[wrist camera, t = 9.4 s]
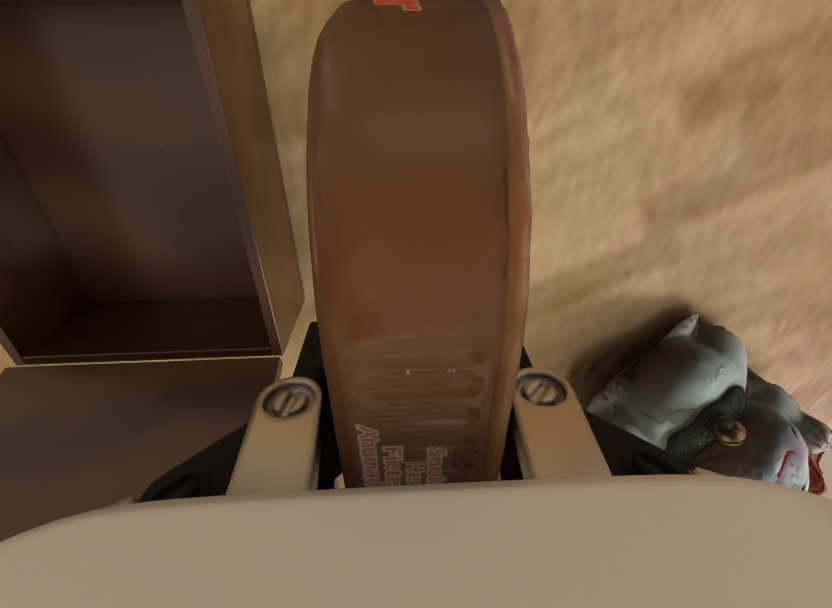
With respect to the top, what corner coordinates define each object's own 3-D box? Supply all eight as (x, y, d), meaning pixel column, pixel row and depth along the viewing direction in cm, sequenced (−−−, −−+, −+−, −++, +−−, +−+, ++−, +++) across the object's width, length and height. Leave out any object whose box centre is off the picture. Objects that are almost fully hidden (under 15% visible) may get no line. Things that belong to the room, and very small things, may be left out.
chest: (-73, -8, 19) (-274, -39, 13) (247, -10, 19) (187, -41, 14) (92, 305, 28) (15, 365, 22) (305, 298, 28) (283, 355, 23)
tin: (438, 422, 18) (488, 661, 11) (369, 429, 18) (374, 679, 11) (451, 14, 10) (688, -96, 3) (324, 14, 9) (217, -108, 2)
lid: (-453, 990, 10) (-409, 972, 10) (157, 937, 10) (170, 922, 11) (5, 367, 22) (15, 373, 22) (280, 356, 22) (283, 363, 23)
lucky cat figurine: (730, 283, 29) (969, 446, 21) (684, 352, 39) (836, 482, 31) (566, 390, 28) (750, 604, 20) (560, 433, 38) (683, 590, 30)
